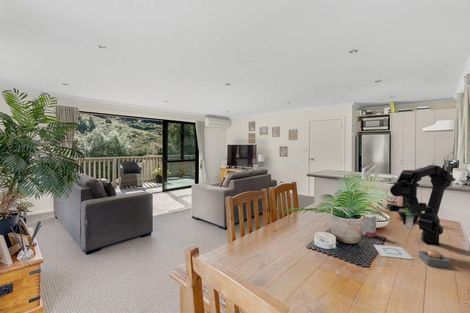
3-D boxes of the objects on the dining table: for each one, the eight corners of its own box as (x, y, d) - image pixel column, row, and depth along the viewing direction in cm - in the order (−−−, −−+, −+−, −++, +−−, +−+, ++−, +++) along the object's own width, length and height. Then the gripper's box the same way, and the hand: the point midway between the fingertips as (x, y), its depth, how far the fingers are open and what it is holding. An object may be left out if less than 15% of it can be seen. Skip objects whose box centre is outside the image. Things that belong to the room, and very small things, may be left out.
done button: (436, 255, 106) (436, 250, 106) (442, 260, 102) (442, 255, 102) (425, 254, 107) (425, 249, 107) (430, 259, 103) (430, 253, 103)
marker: (411, 227, 121) (411, 213, 121) (414, 229, 117) (414, 215, 117) (403, 226, 122) (403, 213, 122) (406, 228, 118) (406, 215, 118)
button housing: (439, 259, 107) (439, 252, 107) (449, 267, 100) (450, 261, 100) (418, 257, 110) (418, 250, 109) (427, 265, 102) (427, 258, 102)
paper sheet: (401, 247, 120) (401, 247, 120) (413, 259, 107) (413, 258, 107) (373, 245, 123) (373, 244, 123) (381, 256, 111) (381, 255, 111)
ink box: (376, 236, 136) (376, 216, 135) (372, 238, 133) (372, 217, 132) (361, 231, 143) (361, 212, 143) (357, 233, 140) (357, 214, 140)
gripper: (394, 197, 114) (394, 228, 114) (440, 199, 109) (439, 232, 109) (386, 192, 125) (386, 221, 125) (428, 194, 119) (427, 224, 120)
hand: (408, 225), depth 120 cm, fingers closed on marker, 4 cm apart
